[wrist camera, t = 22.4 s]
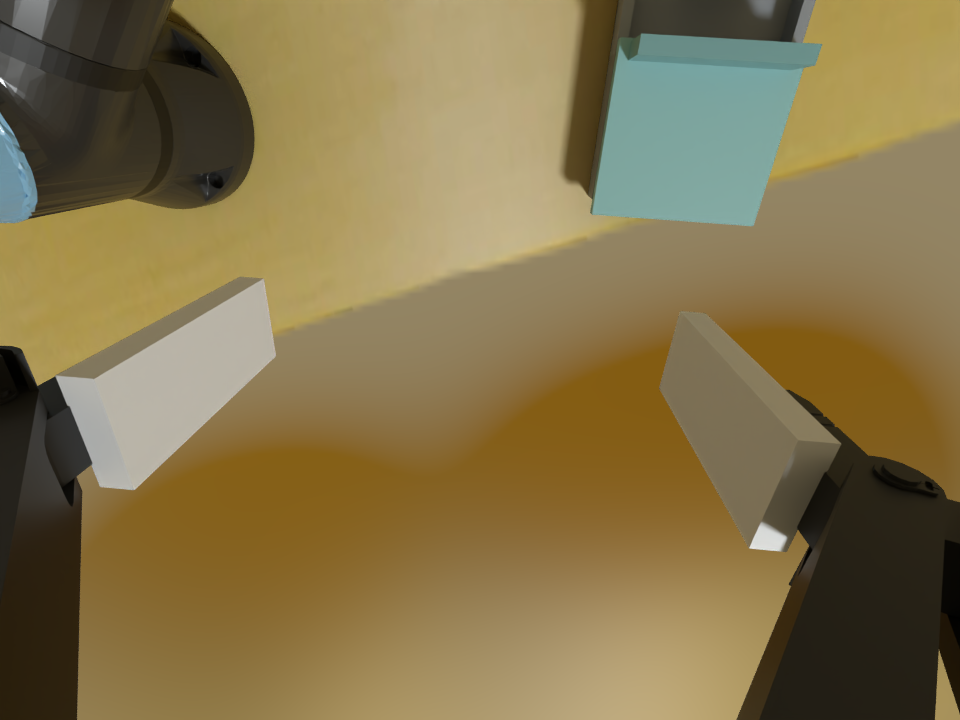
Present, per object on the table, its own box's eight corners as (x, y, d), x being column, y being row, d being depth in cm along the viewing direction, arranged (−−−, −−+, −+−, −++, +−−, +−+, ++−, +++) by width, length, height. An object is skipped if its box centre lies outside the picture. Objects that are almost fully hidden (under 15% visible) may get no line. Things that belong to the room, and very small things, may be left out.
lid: (590, 212, 40) (597, 220, 37) (618, 39, 35) (629, 29, 31) (747, 224, 40) (770, 233, 36) (802, 50, 34) (835, 41, 31)
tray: (587, 195, 42) (592, 198, 40) (656, -244, 30) (667, -274, 28) (737, 206, 42) (750, 210, 40) (869, -236, 30) (898, -265, 27)
